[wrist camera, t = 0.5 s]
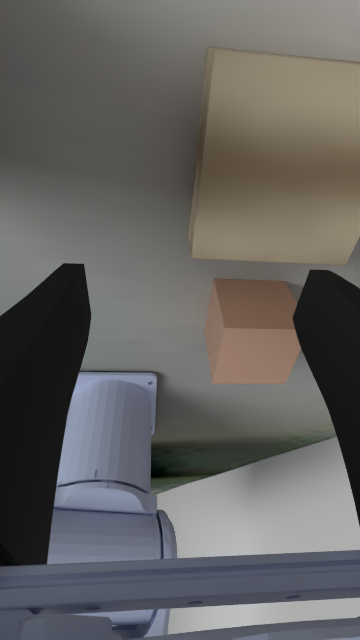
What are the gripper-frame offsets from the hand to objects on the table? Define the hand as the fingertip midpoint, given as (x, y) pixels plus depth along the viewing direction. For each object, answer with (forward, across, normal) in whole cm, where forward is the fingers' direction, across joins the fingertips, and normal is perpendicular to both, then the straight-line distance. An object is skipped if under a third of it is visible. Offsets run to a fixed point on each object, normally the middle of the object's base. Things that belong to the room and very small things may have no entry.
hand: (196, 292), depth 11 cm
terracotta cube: (+10, -5, +8) cm, 14 cm away
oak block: (+10, -5, -2) cm, 12 cm away
